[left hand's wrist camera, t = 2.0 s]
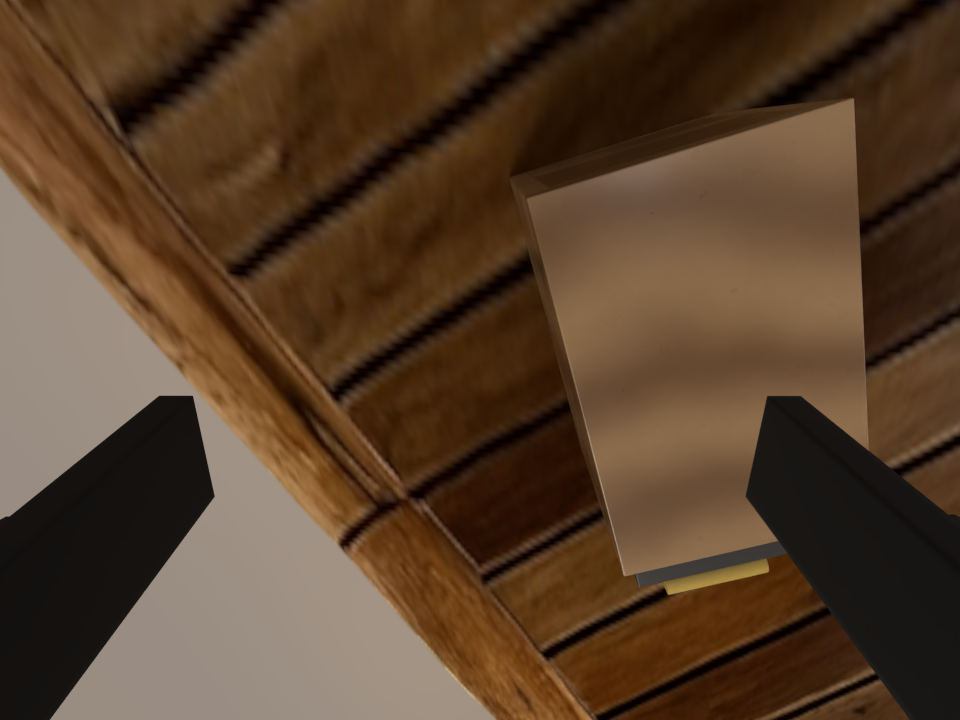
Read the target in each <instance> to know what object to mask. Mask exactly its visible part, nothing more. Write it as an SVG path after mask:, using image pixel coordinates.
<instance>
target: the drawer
mask: <svg viewBox="0 0 960 720" xmlns="http://www.w3.org/2000/svg"><path fill="white" fill-rule="evenodd" d="M784 554H787V552H786V551H785V549H784V548H783V547H782V545H781V544H780V543H779V541H776V542H771V543H767V544H763V545H758V546H754V547H750V548H745V549H741V550H737V551H732V552H728V553H724V554H719V555H715V556H711V557H706V558H702V559H698V560H693V561H689V562H685V563H680V564H676V565H672V566H667V567H663V568H659V569H654V570H650V571H646V572H641V573H637V574H634V575H635V578H636V581H637V583H638V586H639V587H643V586H648V585H652V584H657V583H661V582H663V584H664V587H665V589H666V592H667V593H668V594H669V595H670V594H674V593H679V592H683V591H687V590H692V589H696V588H701V587H705V586H710V585H714V584H718V583H723V582H727V581H732V580H736V579H741V578H745V577H750V576H754V575H758V574H763V573H767V572H769V566H768V562H767V560H766V558H770V557H775V556H779V555H784Z"/></svg>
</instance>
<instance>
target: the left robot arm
mask: <svg viewBox="0 0 960 720" xmlns="http://www.w3.org/2000/svg"><path fill="white" fill-rule="evenodd" d="M745 497H746V498H747V499H748V501H749V502H750V503H751V505H752V506H753V507H754V509H755V510H756V512H757V513H758V514H759V516H760V517H761V518H762V520H763V521H764V522H765V524H766V525H767V526H768V528H769V529H770V531H771V532H772V533H773V535H774V536H775V537H776V539H777V540H778V541H779V543H780V544H781V545H782V547H783V548H784V549H785V551H786V552H787V554H788V555H789V556H790V558H791V559H792V560H793V562H794V563H795V564H796V566H797V567H798V568H799V570H800V571H801V572H802V574H803V575H804V577H805V578H806V579H807V581H808V582H809V583H810V585H811V586H812V587H813V589H814V590H815V591H816V593H817V594H818V596H819V597H820V598H821V600H822V601H823V602H824V604H825V605H826V606H827V608H828V609H829V610H830V612H831V613H832V614H833V616H834V617H835V619H836V620H837V621H838V623H839V624H840V625H841V627H842V628H843V629H844V631H845V632H846V633H847V635H848V636H849V637H850V639H851V640H852V642H853V643H854V644H855V646H856V647H857V648H858V650H859V651H860V652H861V654H862V655H863V656H864V658H865V659H866V661H867V662H868V663H869V665H870V666H871V667H872V669H873V670H874V671H875V673H876V674H877V675H878V677H879V678H880V679H881V681H882V682H883V684H884V685H885V686H886V688H887V689H888V690H889V692H890V693H891V694H892V696H893V697H894V698H895V700H896V701H897V703H898V704H899V705H900V707H901V708H902V709H903V711H904V712H905V713H906V715H907V716H908V717H909V719H910V720H960V517H958V516H956V515H948V514H946V513H945V512H944V511H943V510H941V509H940V508H939V507H938V506H937V505H935V504H934V503H933V502H932V501H930V500H929V499H928V498H927V497H925V496H924V495H923V494H922V493H920V492H919V491H918V490H917V489H915V488H914V487H913V486H912V485H911V484H909V483H908V482H907V481H906V480H904V479H903V478H902V477H901V476H899V475H898V474H897V473H896V472H894V471H893V470H892V469H891V468H889V467H888V466H887V465H886V464H884V463H883V462H882V461H881V460H880V459H878V458H877V457H876V456H875V455H873V454H872V453H871V452H870V451H868V450H867V449H866V448H865V447H863V446H862V445H861V444H860V443H858V442H857V441H856V440H855V439H854V438H852V437H851V436H850V435H849V434H847V433H846V432H845V431H844V430H842V429H841V428H840V427H839V426H837V425H836V424H835V423H834V422H832V421H831V420H830V419H829V418H827V417H826V416H825V415H824V414H823V413H821V412H820V411H819V410H818V409H816V408H815V407H814V406H813V405H811V404H810V403H809V402H808V401H806V400H805V399H804V398H803V397H801V396H767V399H766V404H765V408H764V413H763V418H762V422H761V427H760V431H759V436H758V441H757V445H756V450H755V455H754V459H753V464H752V468H751V473H750V478H749V482H748V487H747V492H746V496H745ZM213 498H214V492H213V487H212V482H211V478H210V473H209V468H208V464H207V459H206V455H205V450H204V445H203V441H202V436H201V431H200V427H199V422H198V418H197V413H196V408H195V404H194V399H193V396H159V397H157V398H156V399H155V400H154V401H152V402H151V403H150V404H149V405H147V406H146V407H145V408H144V409H142V410H141V411H140V412H139V413H137V414H136V415H135V416H134V417H133V418H131V419H130V420H129V421H128V422H126V423H125V424H124V425H123V426H121V427H120V428H119V429H118V430H116V431H115V432H114V433H113V434H112V435H110V436H109V437H108V438H106V439H105V440H104V441H103V442H102V443H100V444H99V445H98V446H97V447H95V448H94V449H93V450H92V451H90V452H89V453H88V454H87V455H86V456H84V457H83V458H82V459H81V460H79V461H78V462H77V463H76V464H74V465H73V466H72V467H71V468H69V469H68V470H67V471H66V472H64V473H63V474H62V475H61V476H59V477H58V478H57V479H56V480H54V481H53V482H52V483H51V484H49V485H48V486H47V487H46V488H45V489H43V490H42V491H41V492H40V493H38V494H37V495H36V496H35V497H33V498H32V499H31V500H30V501H28V502H27V503H26V504H25V505H24V506H22V507H21V508H20V509H19V510H17V511H16V512H15V513H14V514H12V515H11V516H10V517H5V518H3V519H1V520H0V720H50V719H51V717H52V716H53V715H54V713H55V712H56V711H57V709H58V708H59V707H60V705H61V704H62V703H63V701H64V700H65V698H66V697H67V696H68V694H69V693H70V692H71V690H72V689H73V688H74V686H75V685H76V684H77V682H78V681H79V679H80V678H81V677H82V675H83V674H84V673H85V671H86V670H87V669H88V667H89V666H90V665H91V663H92V662H93V661H94V659H95V658H96V656H97V655H98V654H99V652H100V651H101V650H102V648H103V647H104V645H105V644H106V643H107V641H108V640H109V639H110V637H111V636H112V635H113V633H114V632H115V631H116V629H117V628H118V627H119V625H120V624H121V623H122V621H123V620H124V619H125V617H126V616H127V614H128V613H129V612H130V610H131V609H132V608H133V606H134V605H135V604H136V602H137V601H138V600H139V598H140V597H141V595H142V594H143V593H144V591H145V590H146V589H147V587H148V586H149V585H150V583H151V582H152V581H153V579H154V578H155V577H156V575H157V574H158V572H159V571H160V570H161V568H162V567H163V566H164V564H165V563H166V562H167V560H168V559H169V558H170V556H171V555H172V554H173V552H174V551H175V549H176V548H177V547H178V545H179V544H180V543H181V541H182V540H183V539H184V537H185V536H186V534H187V533H188V532H189V530H190V529H191V528H192V526H193V525H194V524H195V522H196V521H197V520H198V518H199V517H200V516H201V514H202V513H203V512H204V510H205V509H206V507H207V506H208V505H209V503H210V502H211V501H212V499H213Z"/></svg>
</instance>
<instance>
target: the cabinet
mask: <svg viewBox="0 0 960 720" xmlns="http://www.w3.org/2000/svg"><path fill="white" fill-rule="evenodd" d="M509 180H510V184H511V187H512V191H513V195H514V199H515V202H516V206H517V210H518V214H519V218H520V221H521V225H522V229H523V233H524V236H525V240H526V244H527V248H528V251H529V255H530V259H531V263H532V266H533V270H534V274H535V278H536V281H537V285H538V289H539V293H540V297H541V300H542V304H543V308H544V312H545V315H546V319H547V323H548V327H549V330H550V334H551V338H552V342H553V345H554V349H555V353H556V357H557V360H558V364H559V368H560V372H561V375H562V379H563V383H564V387H565V391H566V394H567V398H568V402H569V406H570V409H571V413H572V417H573V421H574V424H575V428H576V432H577V436H578V439H579V443H580V447H581V450H582V453H583V456H584V459H585V462H586V465H587V468H588V471H589V474H590V477H591V480H592V483H593V486H594V489H595V492H596V495H597V498H598V501H599V504H600V507H601V510H602V513H603V516H604V519H605V522H606V524H607V527H608V530H609V533H610V536H611V539H612V542H613V545H614V548H615V551H616V554H617V557H618V560H619V563H620V566H621V569H622V572H623V575H624V576H628V575H633V574H637V573H641V572H646V571H650V570H654V569H659V568H663V567H667V566H672V565H676V564H680V563H685V562H689V561H693V560H698V559H702V558H706V557H711V556H715V555H719V554H724V553H728V552H732V551H737V550H741V549H745V548H750V547H754V546H758V545H763V544H767V543H771V542H776V541H778V540H777V539H776V537H775V536H774V535H773V533H772V532H771V531H770V529H769V528H768V526H767V525H766V524H765V522H764V521H763V520H762V518H761V517H760V516H759V514H758V513H757V512H756V510H755V509H754V507H753V506H752V505H751V503H750V502H749V501H748V499H747V498H746V497H745V496H746V492H747V487H748V482H749V478H750V473H751V468H752V464H753V459H754V455H755V450H756V445H757V441H758V436H759V431H760V427H761V422H762V418H763V413H764V408H765V404H766V399H767V396H801V397H803V398H804V399H805V400H806V401H808V402H809V403H810V404H811V405H813V406H814V407H815V408H816V409H818V410H819V411H820V412H821V413H823V414H824V415H825V416H826V417H827V418H829V419H830V420H831V421H832V422H834V423H835V424H836V425H837V426H839V427H840V428H841V429H842V430H844V431H845V432H846V433H847V434H849V435H850V436H851V437H852V438H854V439H855V440H856V441H857V442H858V443H860V444H861V445H862V446H863V447H865V448H866V449H867V450H868V451H869V443H868V420H867V396H866V373H865V349H864V325H863V302H862V278H861V255H860V231H859V208H858V184H857V160H856V137H855V113H854V99H853V98H845V99H836V100H828V101H819V102H810V103H801V104H792V105H783V106H774V107H766V108H757V109H748V110H739V111H730V112H721V113H713V114H709V115H706V116H703V117H700V118H697V119H693V120H690V121H687V122H684V123H681V124H677V125H674V126H671V127H668V128H665V129H661V130H658V131H655V132H652V133H649V134H645V135H642V136H639V137H636V138H633V139H629V140H626V141H623V142H620V143H617V144H614V145H610V146H607V147H604V148H601V149H598V150H594V151H591V152H588V153H585V154H582V155H578V156H575V157H572V158H569V159H566V160H562V161H559V162H556V163H553V164H550V165H546V166H543V167H540V168H537V169H534V170H530V171H527V172H524V173H521V174H518V175H514V176H511V177H509Z"/></svg>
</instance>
